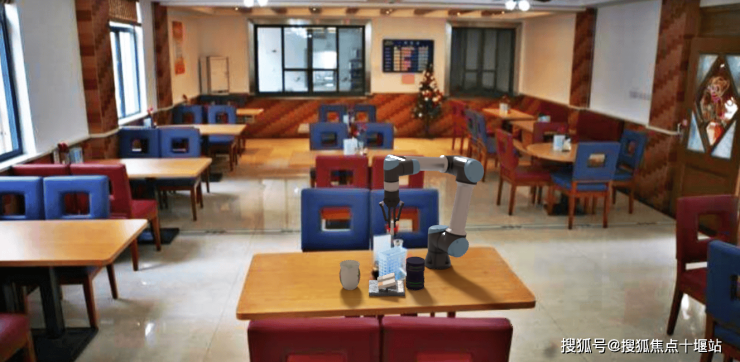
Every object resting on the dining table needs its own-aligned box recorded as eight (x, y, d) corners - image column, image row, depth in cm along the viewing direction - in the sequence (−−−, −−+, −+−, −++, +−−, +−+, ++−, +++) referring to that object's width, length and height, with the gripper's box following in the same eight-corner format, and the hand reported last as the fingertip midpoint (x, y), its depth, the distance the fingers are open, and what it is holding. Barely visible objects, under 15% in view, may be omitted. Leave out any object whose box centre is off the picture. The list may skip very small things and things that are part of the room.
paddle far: (394, 275, 300) (393, 272, 300) (395, 278, 296) (394, 275, 295) (378, 279, 301) (377, 276, 300) (378, 283, 296) (377, 280, 296)
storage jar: (409, 291, 294) (409, 264, 290) (402, 283, 303) (403, 257, 299) (427, 289, 296) (427, 262, 292) (420, 281, 305) (421, 255, 302)
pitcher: (360, 279, 308) (360, 255, 305) (360, 293, 291) (360, 268, 288) (340, 279, 308) (339, 255, 305) (338, 293, 291) (338, 268, 288)
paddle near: (395, 281, 293) (394, 278, 292) (395, 284, 288) (394, 281, 288) (378, 285, 293) (377, 282, 293) (378, 289, 289) (377, 286, 289)
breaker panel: (403, 283, 303) (403, 277, 302) (404, 296, 288) (404, 289, 287) (369, 283, 303) (369, 277, 302) (368, 296, 288) (368, 289, 288)
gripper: (404, 186, 288) (404, 231, 294) (378, 187, 288) (379, 231, 294) (405, 191, 281) (405, 236, 287) (378, 191, 281) (379, 236, 287)
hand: (392, 233), depth 291 cm, fingers closed
